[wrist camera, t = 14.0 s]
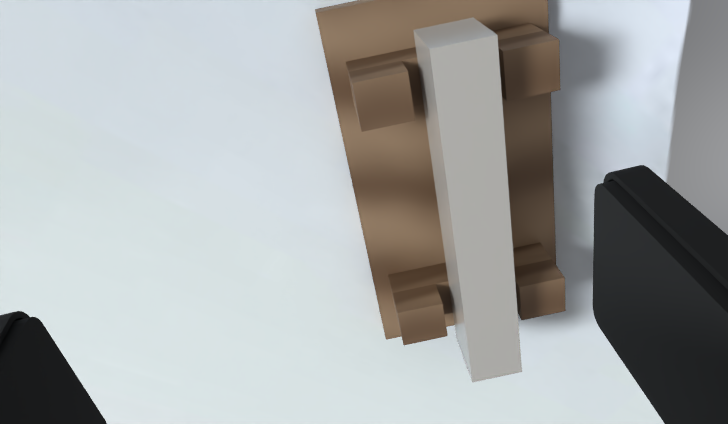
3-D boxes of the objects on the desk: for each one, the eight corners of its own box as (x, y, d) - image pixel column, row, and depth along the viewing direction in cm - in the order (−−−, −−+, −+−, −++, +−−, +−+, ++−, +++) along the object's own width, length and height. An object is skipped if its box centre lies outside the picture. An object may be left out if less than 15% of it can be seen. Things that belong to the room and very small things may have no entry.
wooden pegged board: (315, 9, 31) (318, 29, 27) (539, -38, 31) (579, -27, 27) (384, 330, 42) (394, 381, 38) (551, 294, 42) (581, 341, 38)
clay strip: (413, 29, 29) (429, 49, 26) (473, 17, 29) (497, 34, 26) (456, 338, 39) (472, 382, 36) (501, 328, 39) (521, 371, 36)
